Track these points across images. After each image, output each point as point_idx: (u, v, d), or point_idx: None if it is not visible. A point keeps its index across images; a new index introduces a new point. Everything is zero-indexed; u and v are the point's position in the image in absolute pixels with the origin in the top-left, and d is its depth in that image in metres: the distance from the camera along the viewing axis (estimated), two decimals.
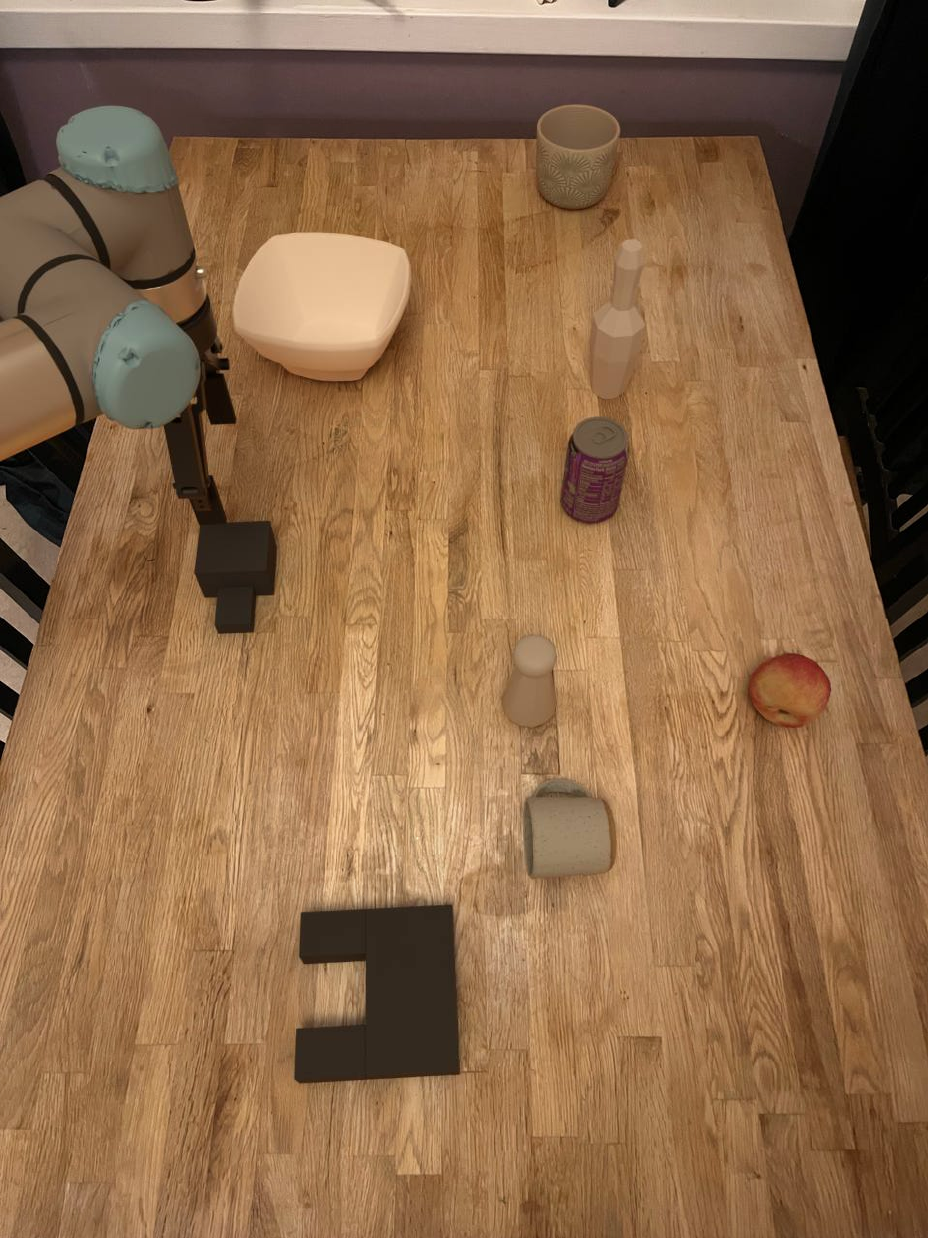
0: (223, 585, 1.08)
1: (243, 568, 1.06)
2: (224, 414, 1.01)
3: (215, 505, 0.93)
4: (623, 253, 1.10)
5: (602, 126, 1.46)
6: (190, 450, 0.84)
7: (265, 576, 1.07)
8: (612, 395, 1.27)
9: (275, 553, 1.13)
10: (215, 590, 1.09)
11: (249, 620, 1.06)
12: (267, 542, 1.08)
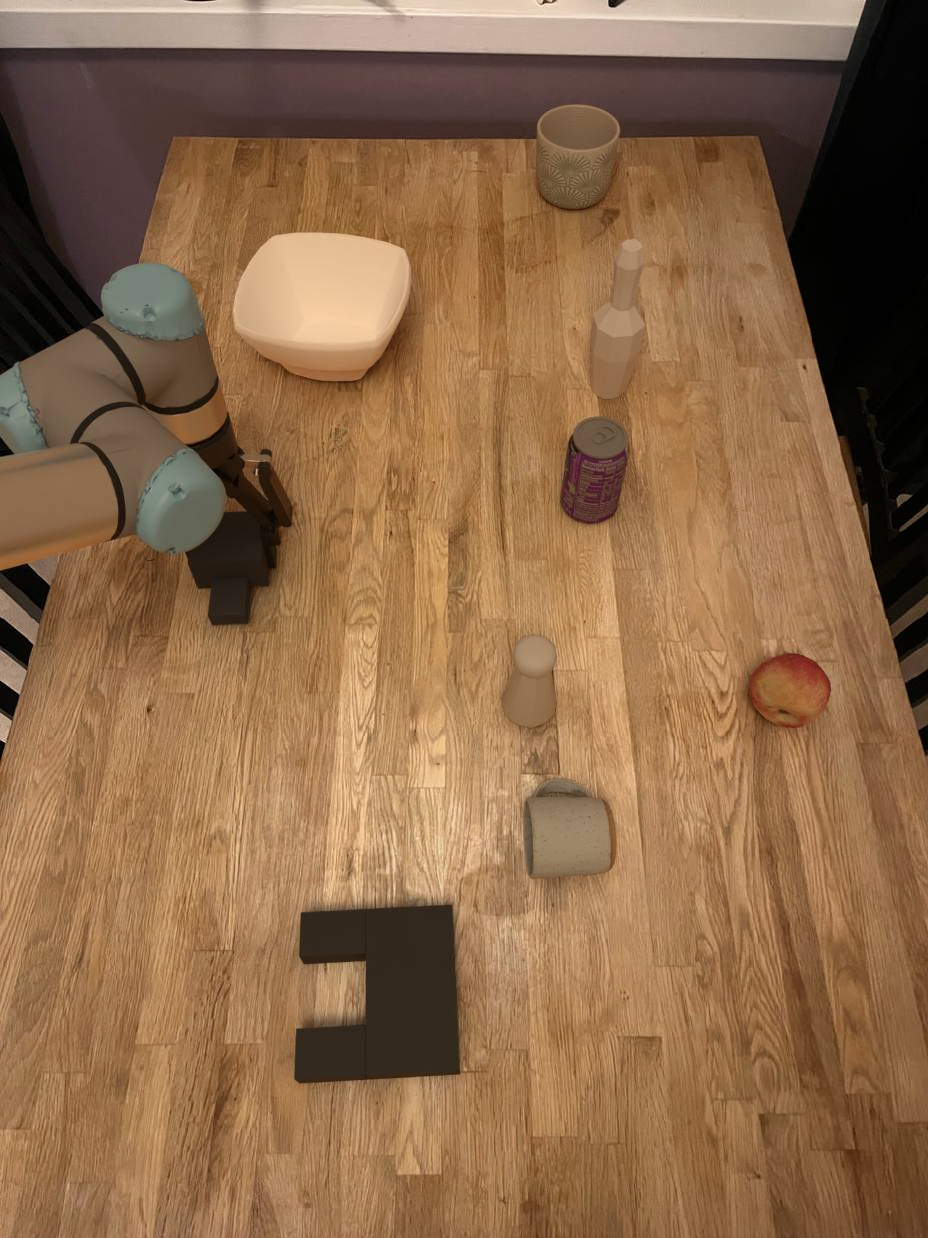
0: (217, 576, 1.06)
1: (238, 558, 1.04)
2: None
3: None
4: (623, 253, 1.10)
5: (602, 126, 1.46)
6: (280, 484, 1.01)
7: (260, 567, 1.05)
8: (612, 395, 1.27)
9: None
10: (208, 581, 1.07)
11: (243, 611, 1.04)
12: None
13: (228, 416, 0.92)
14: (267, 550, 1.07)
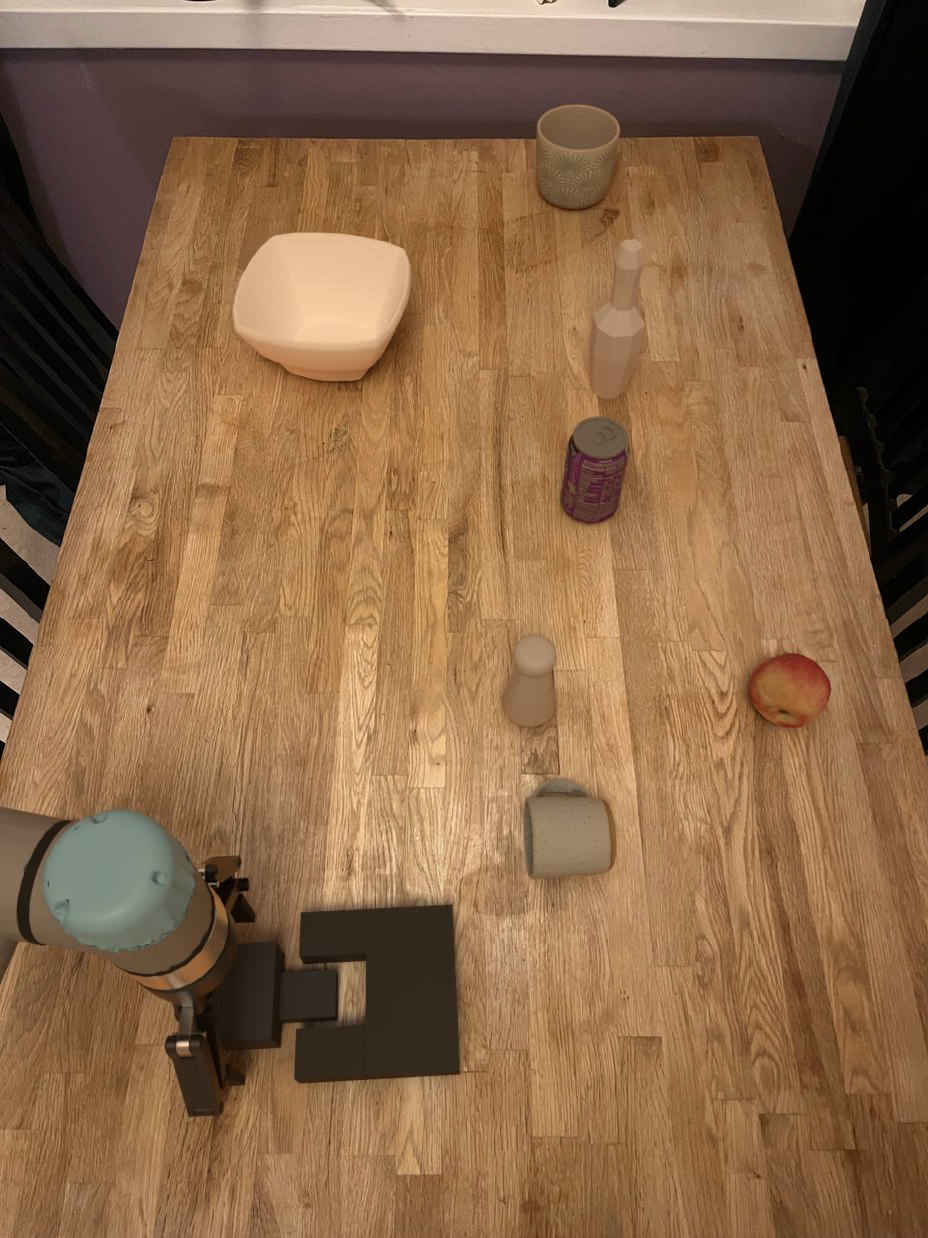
0: (278, 1010, 0.84)
1: (271, 971, 0.83)
2: None
3: None
4: (623, 253, 1.10)
5: (602, 126, 1.46)
6: (205, 864, 0.79)
7: (278, 949, 0.86)
8: (612, 395, 1.27)
9: None
10: (279, 1026, 0.84)
11: (332, 971, 0.86)
12: None
13: None
14: (248, 908, 0.85)
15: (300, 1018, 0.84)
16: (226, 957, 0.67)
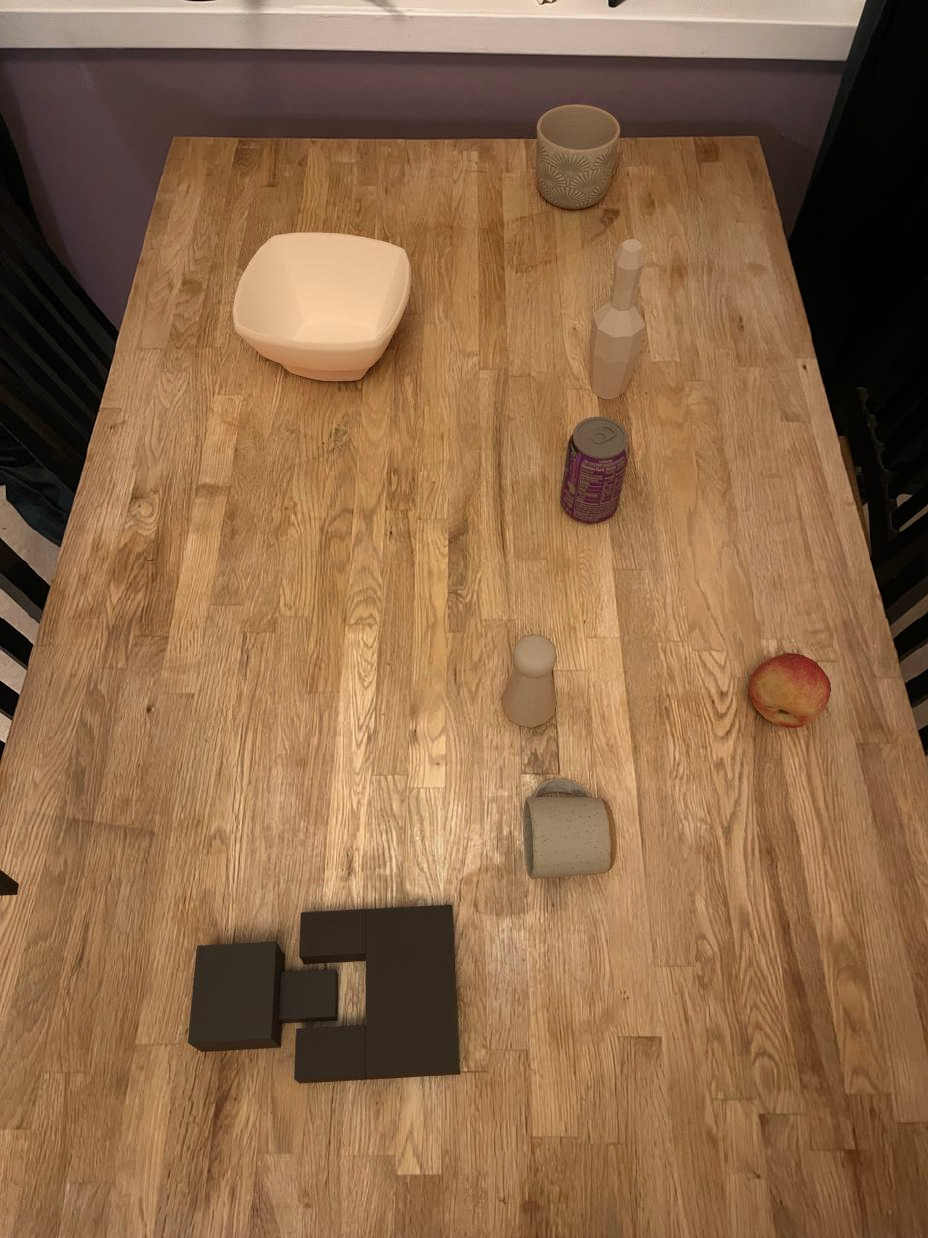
0: (278, 1010, 0.84)
1: (271, 971, 0.83)
2: None
3: None
4: (623, 253, 1.10)
5: (602, 126, 1.46)
6: None
7: (278, 949, 0.86)
8: (612, 395, 1.27)
9: None
10: (279, 1026, 0.84)
11: (332, 971, 0.86)
12: (232, 944, 0.85)
13: None
14: None
15: (300, 1018, 0.84)
16: None
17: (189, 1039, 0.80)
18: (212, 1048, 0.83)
